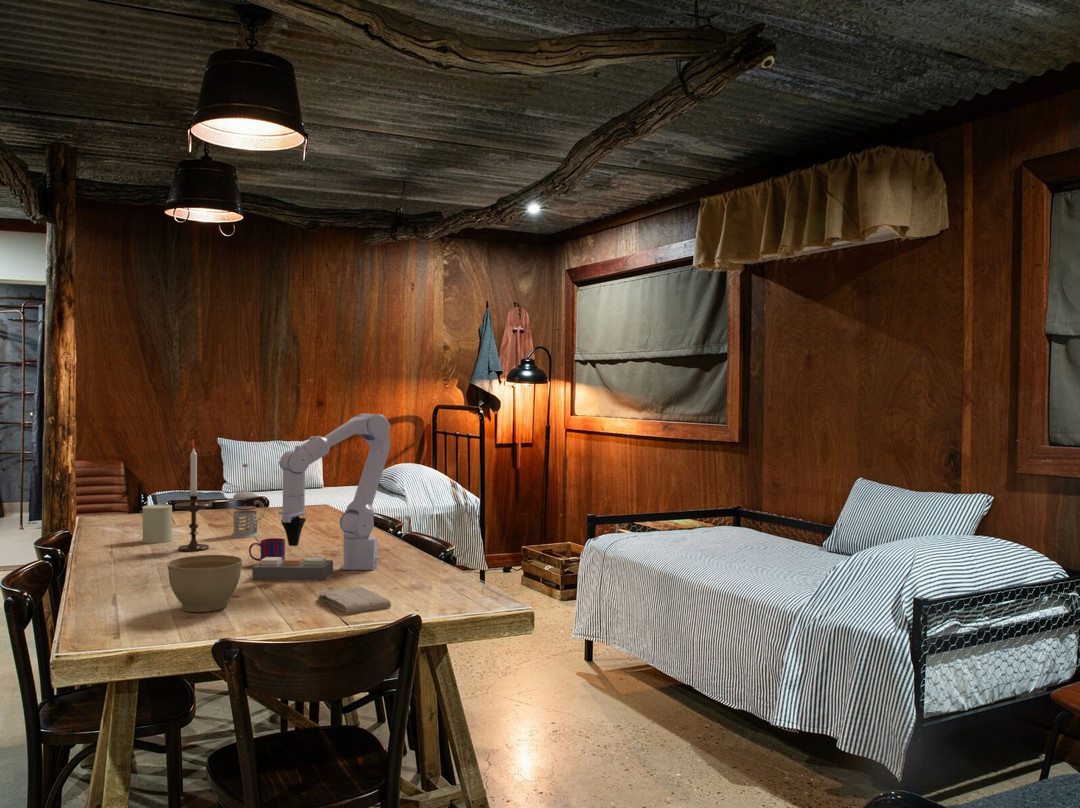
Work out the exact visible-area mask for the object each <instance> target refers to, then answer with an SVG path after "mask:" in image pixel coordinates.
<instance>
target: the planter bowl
mask: <svg viewBox="0 0 1080 808" xmlns="http://www.w3.org/2000/svg"><path fill="white" fill-rule="evenodd" d="M242 564H243V559H242V558H241V557H240V556H239V557H238V556H235V555H227V554H201V555H194V556H193V555H190V556H184V557H177V558H174V559H172V560H169V561H168V562H167V564H166V565H167V571H168V580H169V584H170V588H171V590H172V592H173V594H174V596H175V598H177V600H178V601H179V602H180V604H181V607H182V610H183V611H186V612H189V613H192V612H193V613H207V612H208V613H209V612H214V611H219V610H222V609H226V607H227V605H228V601H229V600H230V598H231V597H232V595H234V593H235V591H236V589H237V587H238V584H239V582H240V578H241V570H242Z"/></svg>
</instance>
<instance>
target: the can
mask: <svg viewBox="0 0 1080 808" xmlns="http://www.w3.org/2000/svg"><path fill="white" fill-rule="evenodd" d="M141 510H142V540H141V542H142V543H143V544H159V543H160V544H162V543H168V542H172V541H173V537H172V535H173V533H172V532H173V529H172V528H173V525H172V523H173V505H172V504H163V503H162V504H150V505H144V506H142V509H141Z"/></svg>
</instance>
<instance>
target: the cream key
mask: <svg viewBox="0 0 1080 808" xmlns="http://www.w3.org/2000/svg"><path fill="white" fill-rule="evenodd" d="M260 562H261V565H279V564H281V563H282V557H265V558H264V559H262V560H261V561H260Z"/></svg>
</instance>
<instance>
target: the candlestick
mask: <svg viewBox="0 0 1080 808" xmlns="http://www.w3.org/2000/svg"><path fill="white" fill-rule="evenodd" d="M191 447H192V451H191V452H190V483H189V485H190V487H189V488H190V490H189V491H190V493H189V494H188V495H186V496H187V497H189V501H184V502H177V503H175V504H174V509H177V510H187V511H188V512H190V513H191V515H190V516H191V517H190V520H191V521H190V522H191V523H190V524H188V528H189V529H190V532H189V533H188V534H189V535H191V536H190V537H191V539H190V541H189V543H188V544H183V545H179V546H178V547H177V548H178V549H177V551H178V552H181V553H182V552H183V553H194V552H195V553H196V552H197V553H198V552H204V551H209V548H210V545H209V544H205V543H199V542H198V541H197V535H198V531H197V528H199V524H198V523H197V512H198V511H200V510H201V509H207V508H212V506H213V503H212V502H211V501H210V502H209V501H198V497H199V496H201V495H200V494H198V466H197V465H198V453H197V452H196V449H195V447H196V445H195V440H194V439H193V438H192V439H191Z"/></svg>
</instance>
